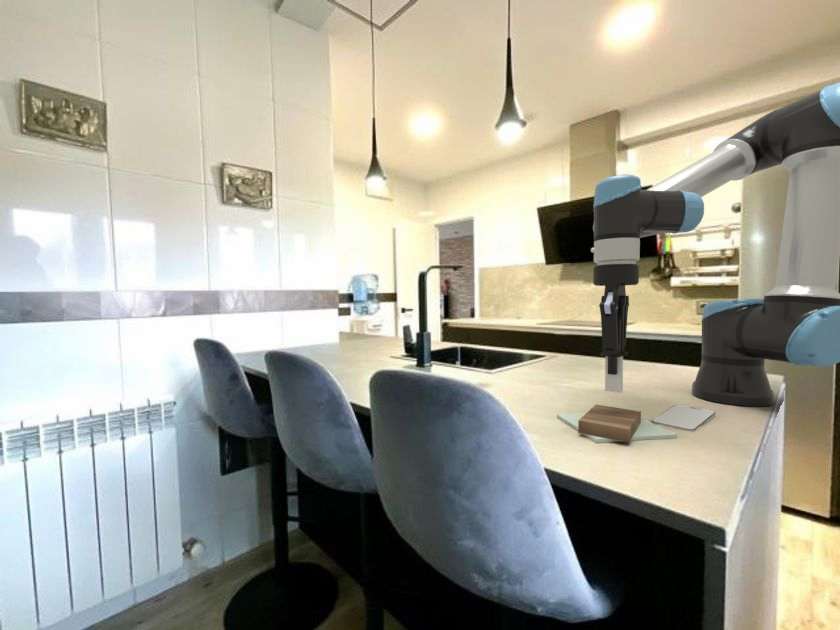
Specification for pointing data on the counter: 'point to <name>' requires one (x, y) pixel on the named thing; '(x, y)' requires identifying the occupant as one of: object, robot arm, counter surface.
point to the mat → (642, 433)
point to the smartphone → (684, 417)
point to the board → (610, 422)
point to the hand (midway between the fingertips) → (613, 390)
